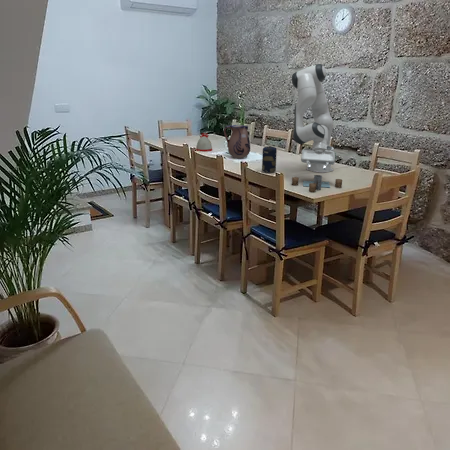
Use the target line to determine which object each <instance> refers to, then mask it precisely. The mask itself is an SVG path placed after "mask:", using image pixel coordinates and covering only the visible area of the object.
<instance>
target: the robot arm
mask: <svg viewBox="0 0 450 450" xmlns="http://www.w3.org/2000/svg"><path fill="white" fill-rule="evenodd" d="M326 76H327V70H326V68H325V66H324V65H323V64H322V63H317V64H316V63H315V65H314V64H313V65H311V66H306V67H304V68H302V69H300V70H298V71H295V72H294V73H292V75H291V83H292V85H293V87H294V88H296V89H297V96H298V97H297V101H296V104H295V105H294V116H293V117H294V119H293V120H294V124H293V125H294V128H293V135H292V137H293V140H294V142H296V144H299V145H304V144H306V143H308V142H310V141H312V142H313V143H312V148H303V149H302V150H301V159H300V160H301V163H306V165H307V166H306V168H305V169H306V170H307V171H310V172H314V173H329V172H334V168H332V165H333V166H334V165H335V161H336V154H335V148H334V146H331V138H332V133H333V126H334V119H333V118H332V116H331V113H330V109H329V103H328V99H327V95H326V91H325V87H324V85H323V81H325V79H326V78H327V77H326ZM309 108H311V113H312V116H313V120H314V121H313V122H311V123H309V124H307V125H306V124H305V125H304V116H305V113H306V111H307V110H309Z"/></svg>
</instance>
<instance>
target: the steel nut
mask: <svg viewBox="0 0 450 450" xmlns="http://www.w3.org/2000/svg"><path fill="white" fill-rule="evenodd" d="M322 179H323V176H322V175H320V174H314V175H313V181H314V183H315V184H316V191H321V190H322V187H321V183H322V182H323V180H322Z"/></svg>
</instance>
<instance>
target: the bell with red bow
mask: <svg viewBox="0 0 450 450" xmlns="http://www.w3.org/2000/svg"><path fill="white" fill-rule="evenodd" d="M200 134H201V135H199V137H200V138H199V139H198V141H197V143H196V149H195V150H196V152H206V153H207V152H211V151H213V146H212V141H211V140H210V139H209V135H210V134H208V133H205V132H202V133H200Z"/></svg>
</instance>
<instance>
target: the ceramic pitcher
mask: <svg viewBox="0 0 450 450" xmlns="http://www.w3.org/2000/svg"><path fill="white" fill-rule="evenodd" d="M227 129H230V130H231V135H230V137H228V135H227ZM248 129H249V126H248V125H244V124H235V125H234V124H233V125H226V126H225V127H224V129H223V135H224V138H225V140H226V144H227V145H226V146H227V150H228V154H229V155H230V157H232V158H233V159H238V160H239V159H246V158H247V157H248V156H249V154H250V152H251V143H250V137H249V134H248V133H249V132H248V131H249V130H248Z"/></svg>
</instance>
